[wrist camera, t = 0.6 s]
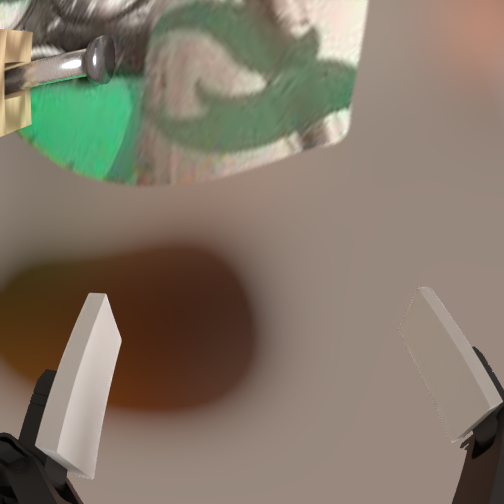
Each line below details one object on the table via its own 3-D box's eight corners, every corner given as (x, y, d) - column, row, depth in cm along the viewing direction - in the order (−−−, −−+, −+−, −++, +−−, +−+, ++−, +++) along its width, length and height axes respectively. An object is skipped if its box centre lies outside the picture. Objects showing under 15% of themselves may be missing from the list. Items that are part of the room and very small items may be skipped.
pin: (19, 60, 22) (-7, 62, 17) (116, 37, 23) (98, 31, 19) (18, 100, 24) (-7, 107, 20) (114, 83, 26) (95, 84, 21)
